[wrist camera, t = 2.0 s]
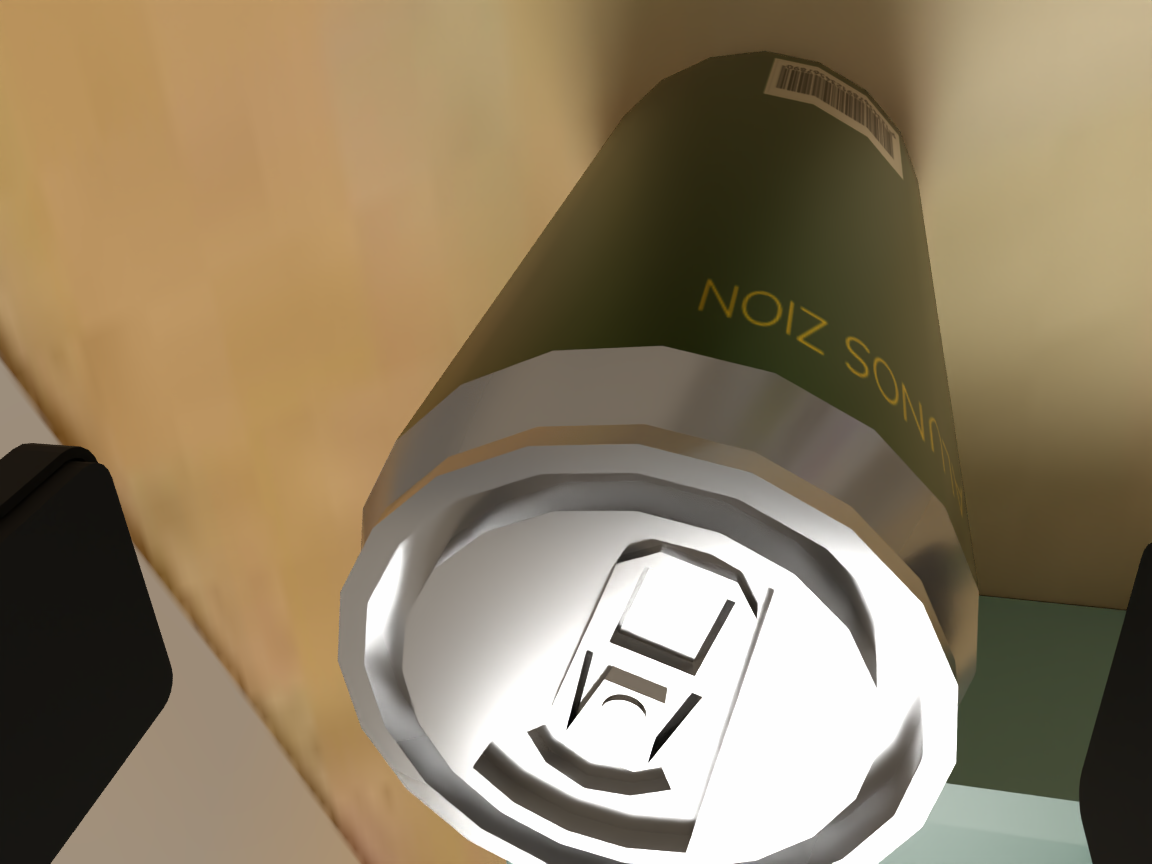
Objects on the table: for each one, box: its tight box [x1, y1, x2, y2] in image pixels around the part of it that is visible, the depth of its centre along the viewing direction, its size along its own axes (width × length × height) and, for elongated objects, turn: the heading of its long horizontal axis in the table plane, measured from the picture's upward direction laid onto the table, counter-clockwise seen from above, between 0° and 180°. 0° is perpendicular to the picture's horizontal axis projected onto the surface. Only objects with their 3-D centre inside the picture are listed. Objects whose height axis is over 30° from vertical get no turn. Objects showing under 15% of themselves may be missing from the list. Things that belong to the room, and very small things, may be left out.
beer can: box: [338, 51, 979, 864], centre depth 13 cm, size 5×5×12 cm
